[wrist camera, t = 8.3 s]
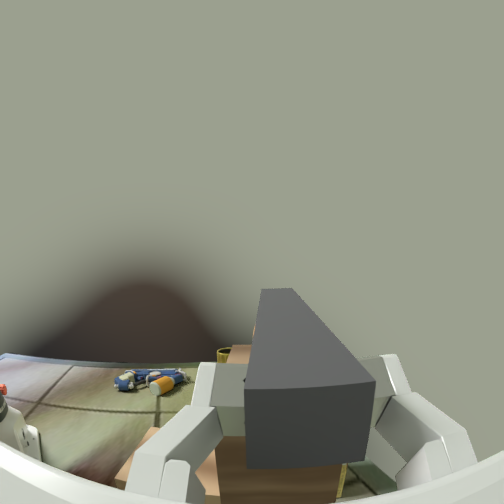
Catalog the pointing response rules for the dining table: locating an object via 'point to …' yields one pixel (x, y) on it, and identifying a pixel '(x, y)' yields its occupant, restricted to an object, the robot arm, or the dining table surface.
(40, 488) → the robot arm
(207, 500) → the stand
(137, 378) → the toy blaster gun
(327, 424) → the bar
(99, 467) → the dining table surface
